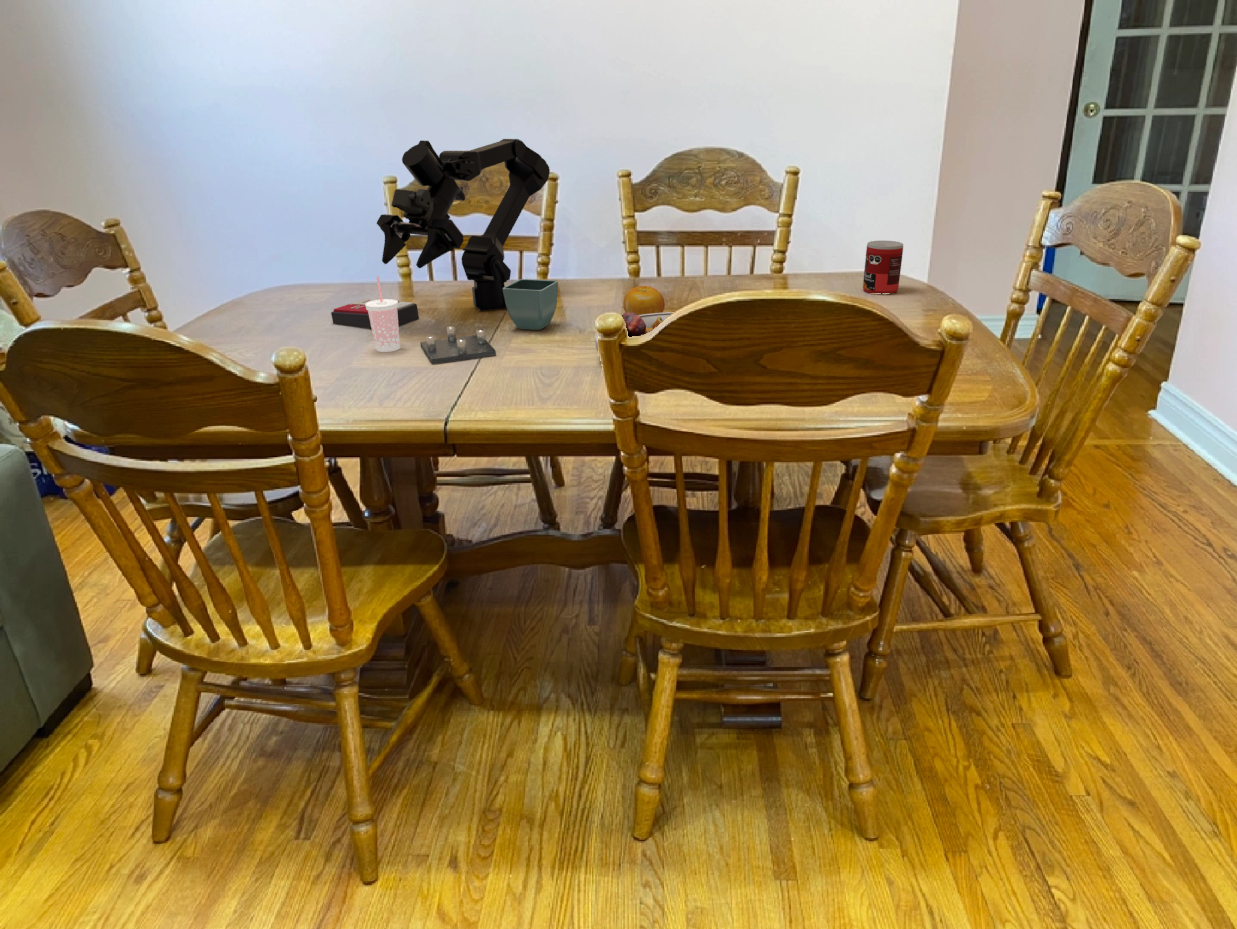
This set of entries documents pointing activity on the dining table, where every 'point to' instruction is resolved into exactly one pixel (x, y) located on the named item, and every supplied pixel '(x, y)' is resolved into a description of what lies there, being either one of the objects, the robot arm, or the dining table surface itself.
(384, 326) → the beverage cup
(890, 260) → the canned food
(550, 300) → the flower pot
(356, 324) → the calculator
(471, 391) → the dining table surface
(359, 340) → the dining table surface
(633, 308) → the fruit
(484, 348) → the chassis plate
